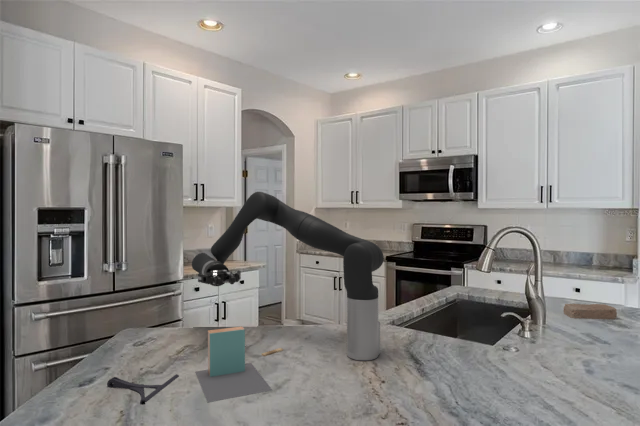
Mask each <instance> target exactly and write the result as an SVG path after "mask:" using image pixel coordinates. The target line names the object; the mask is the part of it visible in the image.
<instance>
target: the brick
mask: <svg viewBox="0 0 640 426" xmlns="http://www.w3.org/2000/svg"><path fill="white" fill-rule="evenodd" d="M617 311H618V309H617V308H616V307H615V306H611V305H608V304H604V303H602V304H601V303H593V304H586V303H585V304H584V303H583V304H581V303H565V304H564V306H563V310H562V312H563V314H564V315H566V316H568V318H571V319H579V320H580V319H581V320H582V319H585V320H586V319H589V320H590V319H591V320H615V319H617V316H618V315H617V314H618V312H617Z"/></svg>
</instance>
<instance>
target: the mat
mask: <svg viewBox="0 0 640 426" xmlns="http://www.w3.org/2000/svg"><path fill="white" fill-rule="evenodd" d="M195 375H196V377H197V380H198V383H199V385H200V387H201V390H202V392H203V394H204V398H205V399H206V402H207V403H212V402H214V403H215V402H218V401H223V400H229V399H234V398H239V397H244V396H249V395H254V394H255V395H256V394H260V393H261V394H262V393H266V392H271V391H273V389H272V388H271V386H270V385H269V384H268V382H267V381H266V379H264V377H263V376H262V375H261V373H259V371H258V369H256V367H255V365H254V364H253V363H252V362H249V363H245V371H243V372H237V373H231V374H224V375H218V376H212V377H210V376H209V374H208V369H205V370H204V369H203V370H198V371H196V370H195Z"/></svg>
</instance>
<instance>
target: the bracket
mask: <svg viewBox="0 0 640 426" xmlns="http://www.w3.org/2000/svg"><path fill="white" fill-rule="evenodd" d="M179 377H180V375H179V374H176V373H175V375H173V376H171V378H169V379H168V380H166V381H165V382H164V383H162V384H139V383H135V382H130V381H126V380H124V379H121V378H119V377H117V376H114V377H112V378H109V379H108V381H107V383H106V385H107V388H114V389H125V390H126V389H128V390H132V391H134V392H137V394H139V395H140V401H139V404H140V405H142V404H144V403H147V402H149V401H150V400H151V399H153V398H154V397H155V396H157V394H158V393H160V392H161V391H162V390H163V389H165V388H166V387H168V385H170V384H172V383H173V382H174V381H175V380H177V378H179ZM145 389H153V391H151V392H150V393H149V394H148V395H145ZM154 389H155V390H154Z"/></svg>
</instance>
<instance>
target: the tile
mask: <svg viewBox="0 0 640 426" xmlns="http://www.w3.org/2000/svg"><path fill="white" fill-rule="evenodd" d="M245 364H246V329H245V328H244V326H236V327H228V328H226V327H225V328H219V329H211V330H209V329H208V330H207V370H208V374H209V376H210V377H212V376H218V375H224V374H231V373H237V372H243V371H245Z"/></svg>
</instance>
